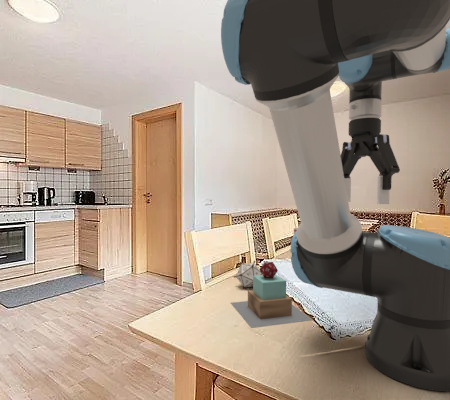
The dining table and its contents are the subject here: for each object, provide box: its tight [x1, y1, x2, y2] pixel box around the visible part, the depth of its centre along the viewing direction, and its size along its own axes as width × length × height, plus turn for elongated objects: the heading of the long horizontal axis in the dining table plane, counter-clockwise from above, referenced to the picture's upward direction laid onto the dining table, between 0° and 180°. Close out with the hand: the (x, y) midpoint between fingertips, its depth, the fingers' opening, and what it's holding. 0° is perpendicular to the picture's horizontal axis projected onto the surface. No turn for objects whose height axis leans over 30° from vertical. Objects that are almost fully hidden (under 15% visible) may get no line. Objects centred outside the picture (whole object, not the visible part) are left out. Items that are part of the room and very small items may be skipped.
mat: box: [230, 300, 313, 329], centre depth 75 cm, size 15×15×1 cm
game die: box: [233, 260, 262, 290], centre depth 93 cm, size 9×8×10 cm
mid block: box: [252, 273, 287, 300], centre depth 75 cm, size 6×6×4 cm
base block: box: [247, 289, 293, 319], centre depth 75 cm, size 8×8×4 cm
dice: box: [259, 261, 278, 278], centre depth 75 cm, size 4×4×4 cm
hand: (362, 202), depth 79 cm, fingers open, 13 cm apart
